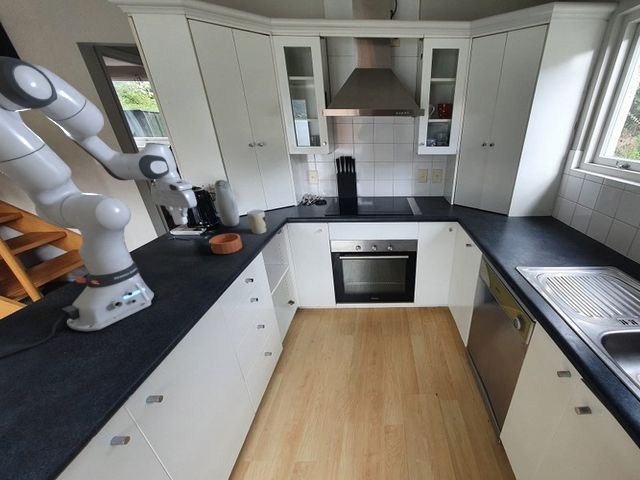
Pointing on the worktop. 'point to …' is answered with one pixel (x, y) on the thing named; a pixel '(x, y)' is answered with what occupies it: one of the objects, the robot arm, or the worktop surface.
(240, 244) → the bowl
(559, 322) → the worktop surface
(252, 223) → the coffee cup
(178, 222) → the pepper shaker
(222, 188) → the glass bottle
